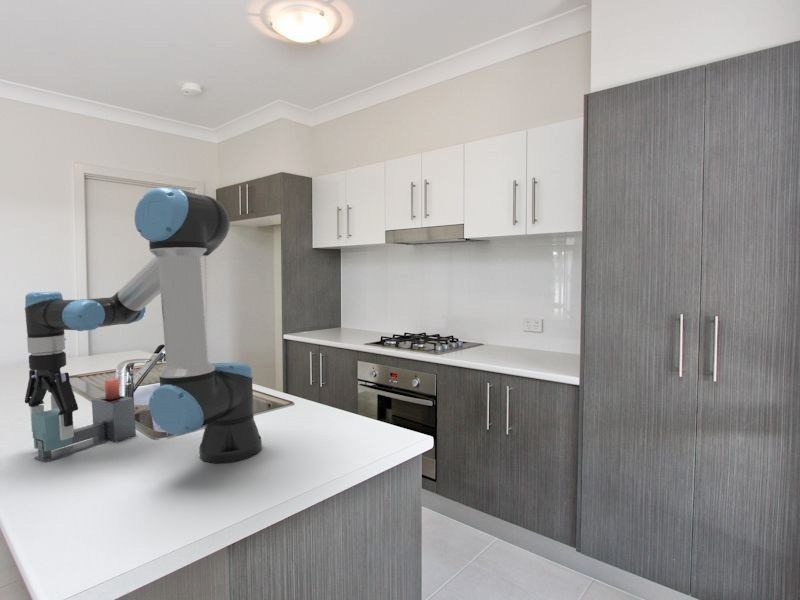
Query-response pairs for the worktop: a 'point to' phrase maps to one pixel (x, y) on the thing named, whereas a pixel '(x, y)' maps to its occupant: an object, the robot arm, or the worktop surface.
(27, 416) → the worktop surface
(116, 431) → the rail station
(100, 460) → the worktop surface
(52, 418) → the carriage
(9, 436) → the worktop surface
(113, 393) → the red block
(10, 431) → the worktop surface
